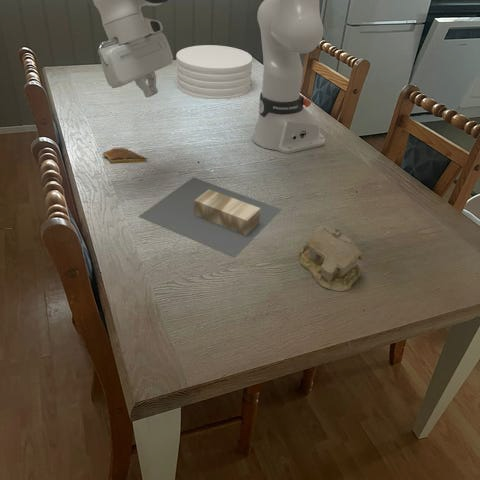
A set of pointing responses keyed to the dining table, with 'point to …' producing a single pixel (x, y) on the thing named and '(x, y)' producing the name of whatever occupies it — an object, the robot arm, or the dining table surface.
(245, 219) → the birch block
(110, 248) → the dining table surface
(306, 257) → the ceramic model
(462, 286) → the dining table surface
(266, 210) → the rubber mat
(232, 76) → the plate stack
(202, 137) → the dining table surface
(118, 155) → the shard
